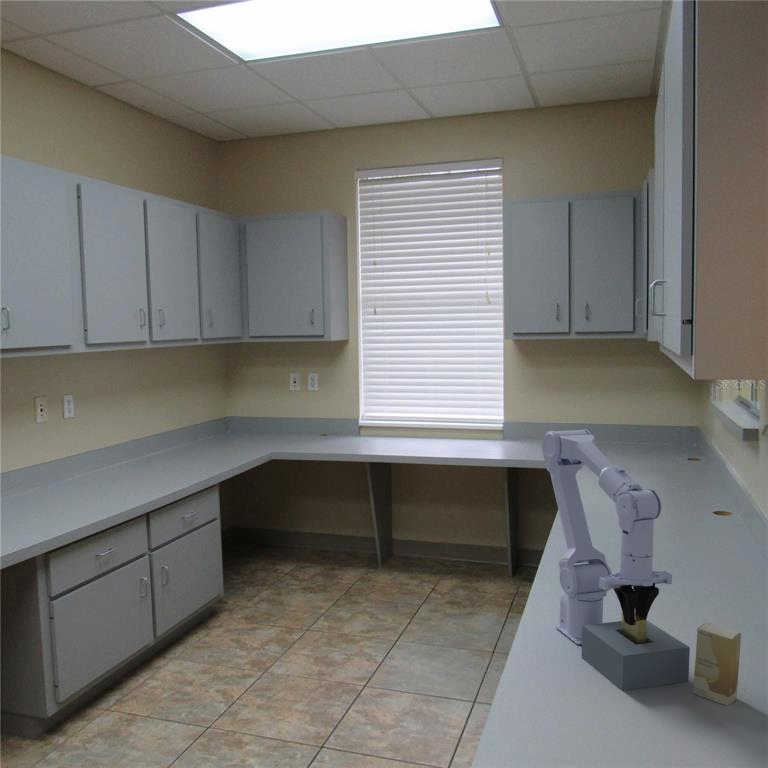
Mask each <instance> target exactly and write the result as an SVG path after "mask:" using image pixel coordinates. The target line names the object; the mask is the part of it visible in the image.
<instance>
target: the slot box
mask: <svg viewBox="0 0 768 768" xmlns="http://www.w3.org/2000/svg"><path fill="white" fill-rule="evenodd" d="M690 650H691V647H690V646H689V645H687V644H685V643H684V642H682V641H681V640H679V639H677V638H676V637H675V636H674V635H673V636H672V635H671V634H669V633H668V632H666V631H664V630H663V629H661V628H660V627H658V626H656V625H655V624H653V623H652V622H650V621H648V620H647V643H646V644H638V645H636V644H634V643H633V642H631V641H630V640H628V639H627V638H626V637H624V636H623V635H622V620H619V621H609V622H603V623H600V624H592V625H583V626H582V644H581V658H582V659H583V660H584V661H585V662H587V663H588V664H589V665H590V666H591V667H593V668H594V669H595V670H596V671H598V673H600V674H601V675H602V676H603V677H604V678H606V679H607V680H609V681H610V682H611V683H612V684H613V685H615V686H616V687H617V688H618V689H619V690H621V691H629V690H637V689H643V688H650V687H651V688H652V687H658V686H665V685H672V684H679V683H686V682H689V680H690V676H689V675H690V654H691V653H690V652H691V651H690Z"/></svg>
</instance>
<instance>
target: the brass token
mask: <svg viewBox="0 0 768 768" xmlns="http://www.w3.org/2000/svg"><path fill="white" fill-rule="evenodd" d="M621 621H622V635H623V636H624V637H626V638H627V639H628V640H630V641H631V642H633V643H634V644H636V645H638V644H646V643H647V621H648V620H647V619H644V618H642V617H640V616H638V615H636V614H635V619H634V624H633V625H631V626H630V625H628V624H627V623H625V622H624V617H623V612H621Z"/></svg>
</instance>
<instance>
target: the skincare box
mask: <svg viewBox="0 0 768 768" xmlns="http://www.w3.org/2000/svg"><path fill="white" fill-rule="evenodd" d="M696 634H697V635H696V645H695V646H696V648H695V661H694V678H693V691H692V692H693V694H696V695H697V696H700V697H702V698H706V699H709V700H711V701H714V702H716V703H718V704H722V705H724V706H726V707H727V706H729V705H730V704H732V703H733V702H734V701H735V700H736V699H737V697H738V696H737V695H738V685H739V684H738V682H739V670H740V669H739V668H740V654H741V641H742V632H741V631H737V630H734V629H730V628H728V627H725V626H721V625H717V624H714V623H712V622H705V623H703V624H702V625H700V626H699V627H698V628H697V633H696Z"/></svg>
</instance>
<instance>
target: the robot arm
mask: <svg viewBox="0 0 768 768" xmlns="http://www.w3.org/2000/svg"><path fill="white" fill-rule="evenodd" d="M541 452H542V454H543V455H542V456H543V459H544V464H545V468H546V470H547V472H549V475H550V479H551V482H552V487H553V488H552V489H553V492H554V496H555V500H556V505H557V509H558V513H559V514H558V515H559V517H560V521H561V526H562V531H563V535H564V540H565V545H566V549H567V551H566V552H565V554H563V556H562V557H561V558H560V560H559V561H558V566H559V585H560V586H561V589H562V591H563V592H562V593H561V596H560V599H559V624H556V625H555V628H556V629H557V630H558V631H559V632H561V633H562V634H563V635H564V636H566V637H567V638H569V640H571V641H572V642H573V643H574V644H576V645H582V626H583V625H592V624H600V623H604V622H603V621H604V619H603V618H604V598H605V597H607V595H608V594H607V592H609V591H610V590H611V589H612V590H613V591H614V593H615V595H616V598H617V599H618V602H619V605H620V608H621V613H623V617H624V622H625V623H627V624H628V625H630V626H631V625H633V624H634V619H635V614H636V615H638V616H640V617H642V618H644V619H646V620H647V619H648V615H649V612H650V610H651V608H652V605H653V603H654V601H655V599H657V597H658V596H659V594H660V588H659V587H657V586H656V585H659V584H660V585H661V584H665V585H672V584H673V583H672V582H673V574H672V573H670V572H668V571H667V570H660V571H655V570H653V564H654V563H653V560H654V559H653V558H654V557H653V556H654V535H655V533H654V532H655V531H654V530H655V526H654V525H655V524H654V523H655V520H657V519H658V518H659V517H660V516H661V512H662V501H661V498H660V496H659V494H658V493H657V492H656V491H655V489H653V488H646V487H644V486H640V484H639V482H637V481H636V480H635V479H633V477H631V475H629V473H627V471H626V469H625V468H624V466H619V465H612V464H611V462H609V460H608V459H607V457H605V455H604V454H603V453H602V452H601V450H600V449H599V448H598V446H597V442H596V437H595V435H593V434H592V433H591V431H589V430H588V429H586V428H584V429H583V428H582V429H575V430H556V431H555V430H548V431H547V432H546V433H545V435H544V437H543V440H542V442H541ZM584 467H586V468H588V469H589V470H590V471H591V472H592V473H593V474H594V475H596V476H597V477H598V486H599V488H601V490H602V491H604V493H605V494H606V495H607V497H609V498H610V499H611V500H612V501H613V502H614V504H615V505H614V506H615V510H616V515H617V517H618V526H619V528H620V529H621V538H620V539H621V545H620V547H621V548H620V569H619V571H620V572H616V573H612V569H611V568H610V566H609V564H608V563H607V560H606V556H605V554H604V553H603V552H602V551H599V550H598V549H597V548H595V547H594V545H593V542H592V539H591V536H590V531H589V527H588V523H587V518H586V514H585V510H584V506H583V501H582V497H581V493H580V490H579V485H578V480H577V473H578V472H579V471H580V470H582V469H583V468H584Z"/></svg>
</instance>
